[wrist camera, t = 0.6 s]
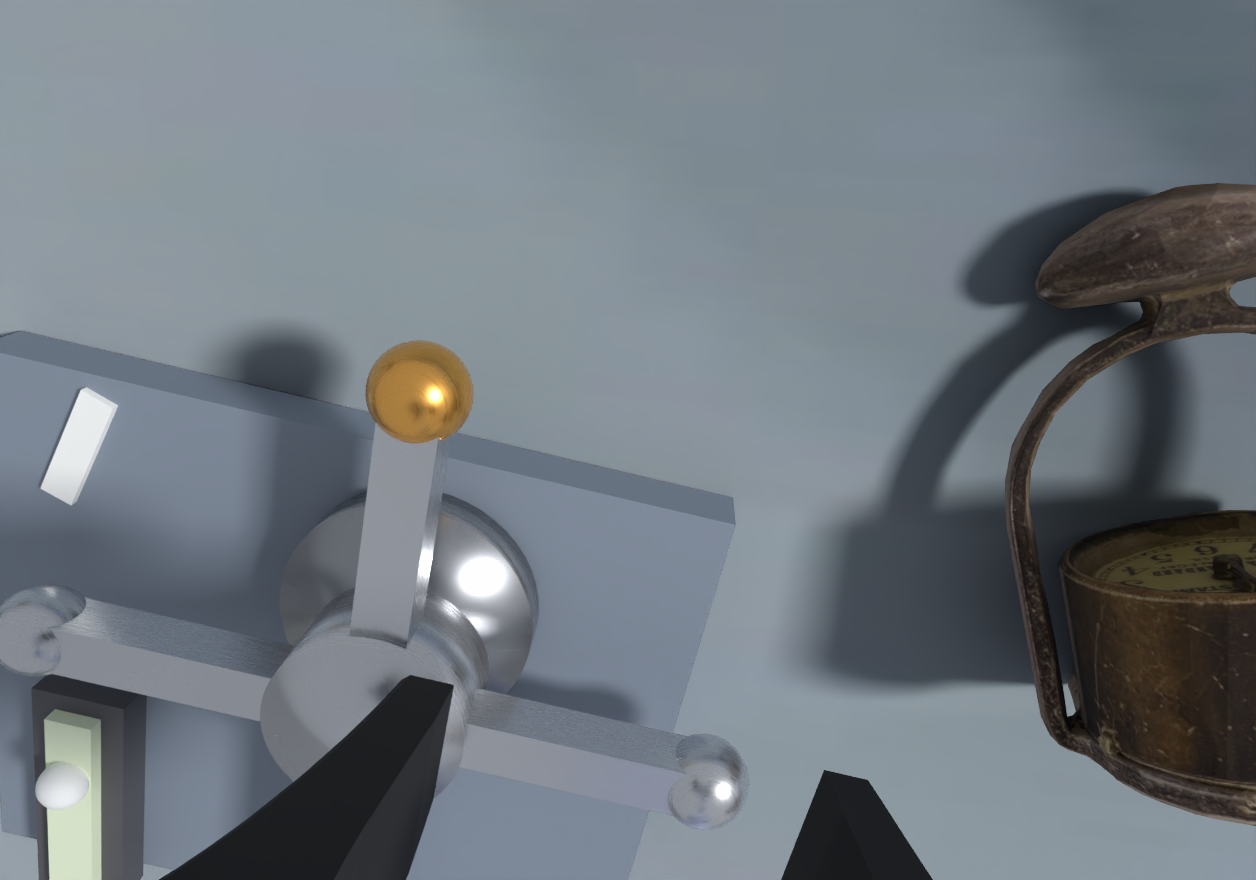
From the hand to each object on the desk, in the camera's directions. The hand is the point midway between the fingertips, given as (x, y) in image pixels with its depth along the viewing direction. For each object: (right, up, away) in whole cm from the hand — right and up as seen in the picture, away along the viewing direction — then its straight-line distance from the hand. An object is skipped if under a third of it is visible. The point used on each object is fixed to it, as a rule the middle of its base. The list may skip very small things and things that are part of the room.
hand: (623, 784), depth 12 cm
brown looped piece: (+13, +4, +9) cm, 16 cm away
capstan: (-5, 0, +10) cm, 11 cm away
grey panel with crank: (-8, -1, +12) cm, 15 cm away
